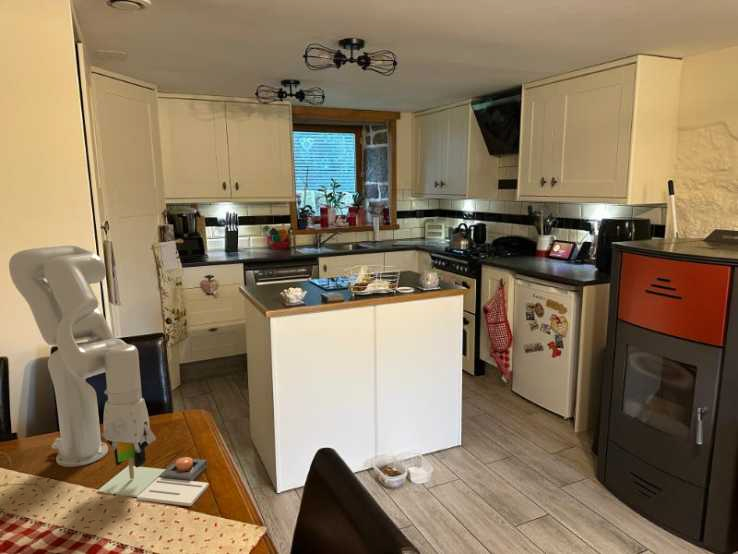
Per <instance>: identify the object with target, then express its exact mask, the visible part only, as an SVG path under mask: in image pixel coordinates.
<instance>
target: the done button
mask: <svg viewBox="0 0 738 554" xmlns="http://www.w3.org/2000/svg"><path fill="white" fill-rule="evenodd" d="M177 459H178V458H177ZM177 459H176V460H177ZM192 459H193V458H192V457H188V456H184V457H180V459H178V460H177V461H176V460H175V461H176V469H177V471H180V472H189V471H190V470H191V469H192V468H193V462H192Z"/></svg>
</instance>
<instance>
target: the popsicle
mask: <svg viewBox="0 0 738 554" xmlns="http://www.w3.org/2000/svg"><path fill="white" fill-rule="evenodd" d="M139 443H140V442H139ZM116 444H117V455H118V461H119V462H121V461H124V460H125V461H127V462H128V466H129V474H130V479H133V478H134V469H133V466H134V460H133V459H134V453H135V452H136V449H135V446H134V443H125V442H116ZM140 445H141V443H140ZM125 461H124V462H125Z"/></svg>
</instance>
